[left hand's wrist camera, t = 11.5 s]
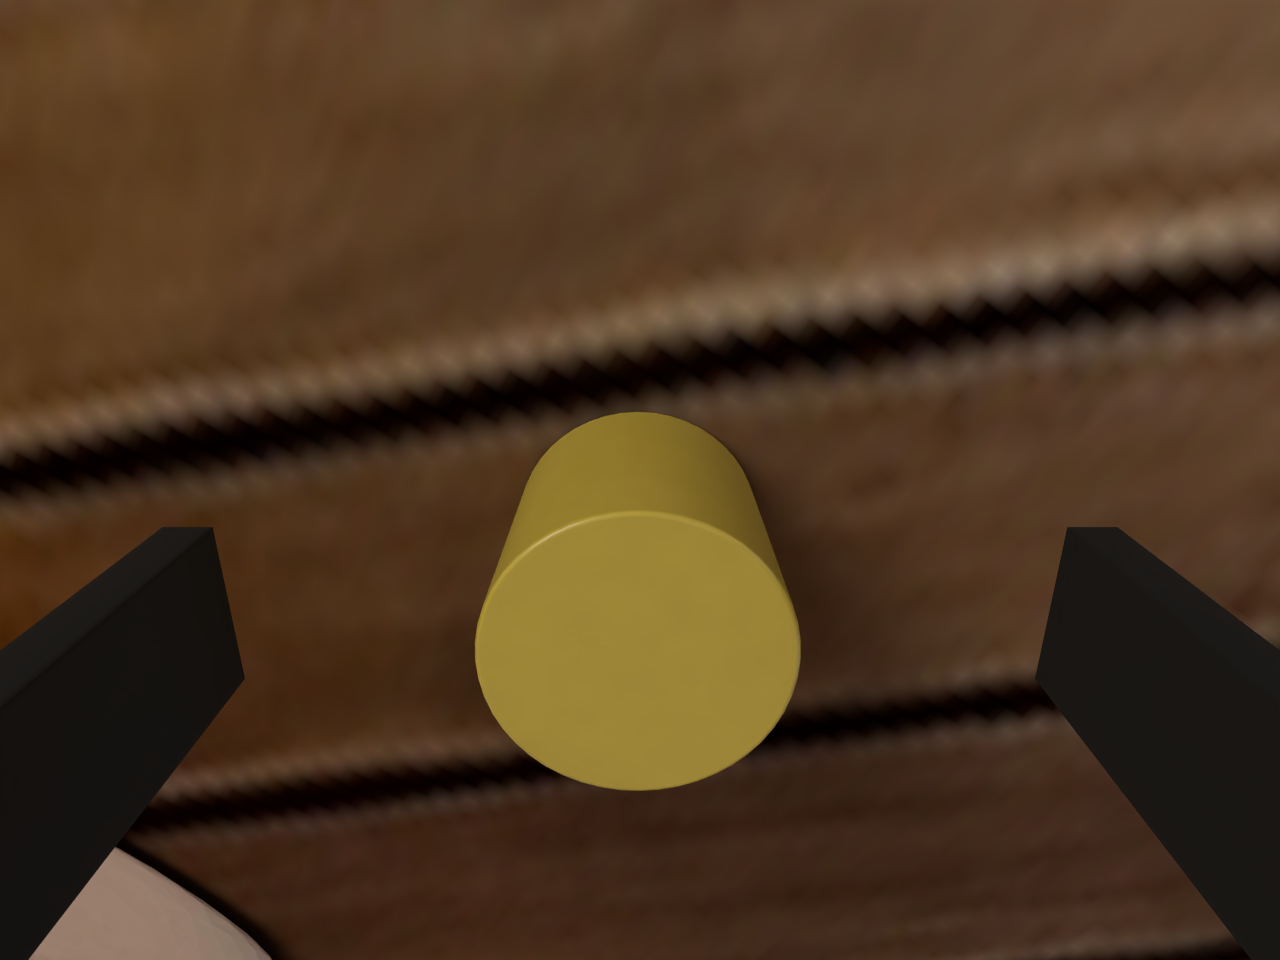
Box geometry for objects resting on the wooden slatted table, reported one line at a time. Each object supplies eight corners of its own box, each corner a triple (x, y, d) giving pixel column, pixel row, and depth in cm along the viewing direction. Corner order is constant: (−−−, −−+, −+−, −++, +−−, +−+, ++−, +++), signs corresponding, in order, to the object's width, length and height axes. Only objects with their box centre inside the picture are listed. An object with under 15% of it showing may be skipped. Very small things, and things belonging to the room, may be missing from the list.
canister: (529, 396, 15) (484, 492, 10) (775, 426, 15) (833, 533, 11) (512, 613, 16) (465, 777, 12) (734, 637, 17) (769, 807, 12)
